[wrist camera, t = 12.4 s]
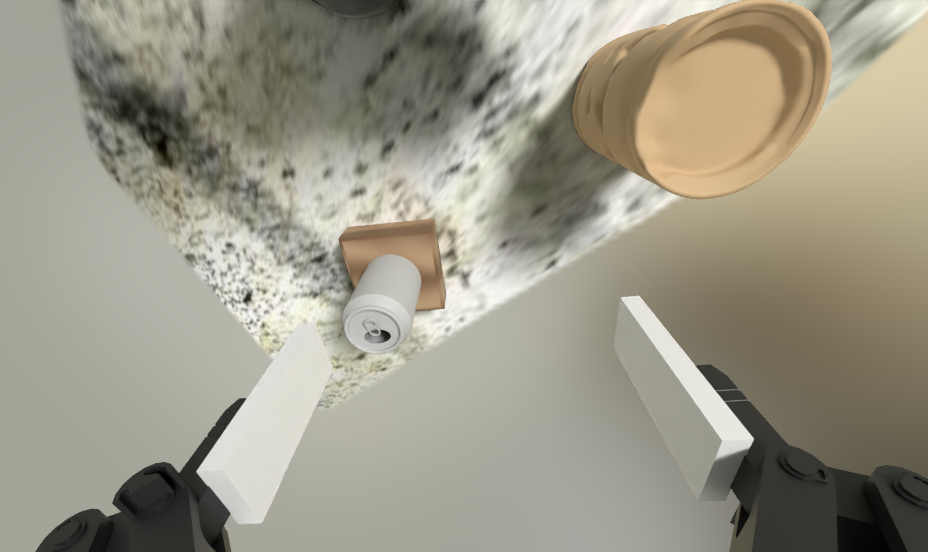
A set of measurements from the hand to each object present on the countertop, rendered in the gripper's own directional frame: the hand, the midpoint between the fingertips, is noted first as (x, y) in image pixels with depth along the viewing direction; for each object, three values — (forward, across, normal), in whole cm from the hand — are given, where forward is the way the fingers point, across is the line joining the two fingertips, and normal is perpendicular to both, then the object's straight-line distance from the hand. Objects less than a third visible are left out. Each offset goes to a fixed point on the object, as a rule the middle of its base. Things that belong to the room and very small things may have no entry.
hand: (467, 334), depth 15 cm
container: (+33, +19, +6) cm, 38 cm away
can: (+29, -11, -12) cm, 33 cm away
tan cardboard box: (+33, -11, -12) cm, 37 cm away
